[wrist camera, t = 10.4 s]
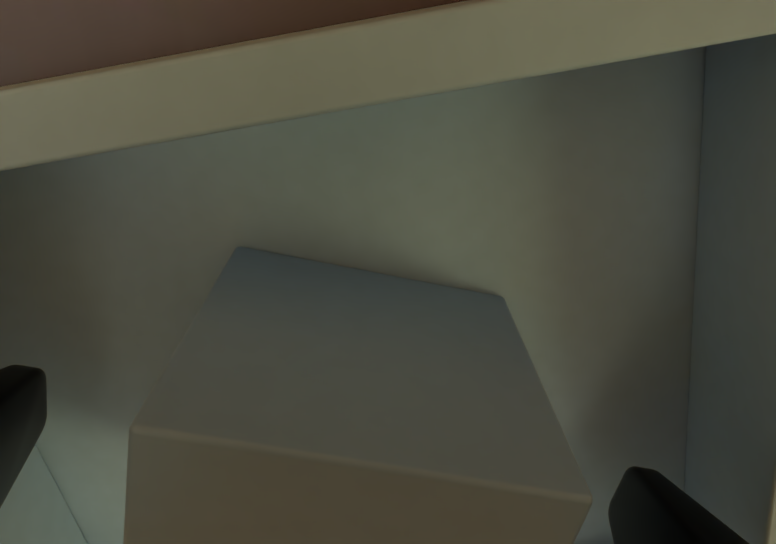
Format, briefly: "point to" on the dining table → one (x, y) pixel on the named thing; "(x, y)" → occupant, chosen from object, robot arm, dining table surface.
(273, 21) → the dining table surface
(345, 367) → the gray block
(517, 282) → the gray tray
